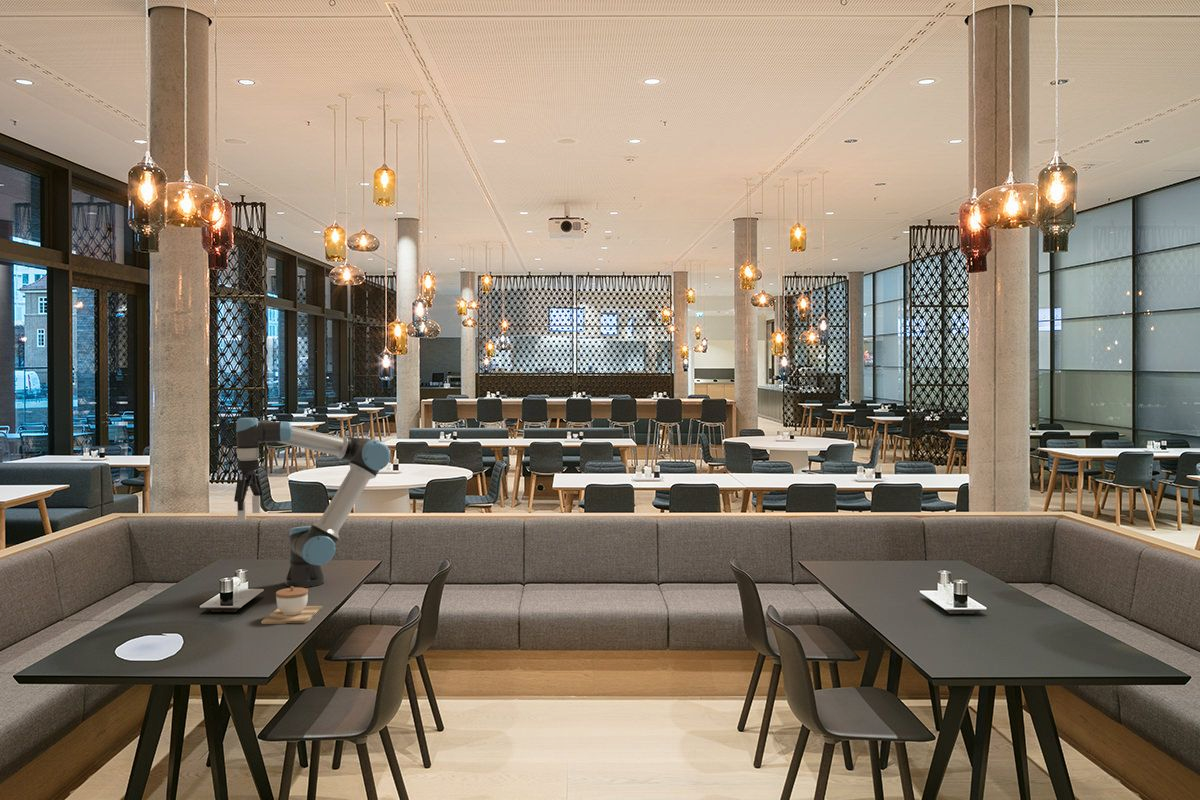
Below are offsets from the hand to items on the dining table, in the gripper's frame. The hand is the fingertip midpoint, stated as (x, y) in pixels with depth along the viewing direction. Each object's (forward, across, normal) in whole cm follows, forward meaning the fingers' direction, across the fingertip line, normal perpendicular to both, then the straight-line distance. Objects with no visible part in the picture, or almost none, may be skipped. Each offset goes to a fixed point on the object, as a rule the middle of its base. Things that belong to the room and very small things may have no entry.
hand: (249, 516), depth 325 cm
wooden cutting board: (+32, +21, +23) cm, 44 cm away
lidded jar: (+31, +21, +23) cm, 44 cm away
